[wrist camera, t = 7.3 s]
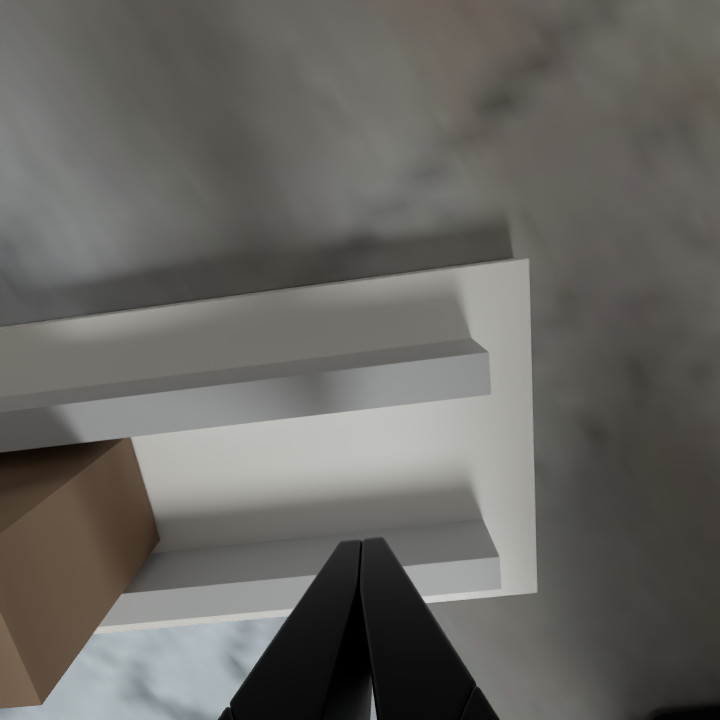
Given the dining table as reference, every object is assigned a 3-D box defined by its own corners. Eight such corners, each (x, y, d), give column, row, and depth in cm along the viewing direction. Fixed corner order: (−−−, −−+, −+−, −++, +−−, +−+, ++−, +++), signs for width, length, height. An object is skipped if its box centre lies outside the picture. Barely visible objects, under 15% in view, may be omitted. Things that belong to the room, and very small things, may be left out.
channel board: (514, 258, 11) (648, 262, 6) (525, 567, 13) (624, 765, 8) (-258, 361, 12) (-731, 443, 7) (-113, 629, 14) (-378, 837, 9)
